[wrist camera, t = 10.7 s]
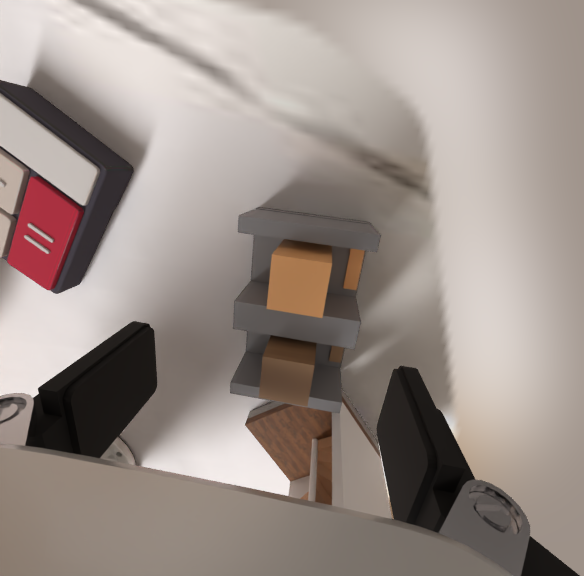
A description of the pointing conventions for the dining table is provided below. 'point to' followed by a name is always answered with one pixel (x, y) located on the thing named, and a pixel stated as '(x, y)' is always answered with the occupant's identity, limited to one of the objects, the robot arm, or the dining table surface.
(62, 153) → the calculator
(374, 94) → the dining table surface
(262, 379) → the walnut plug
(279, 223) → the grey slotted rack
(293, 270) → the tan tall block
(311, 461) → the banded white column
